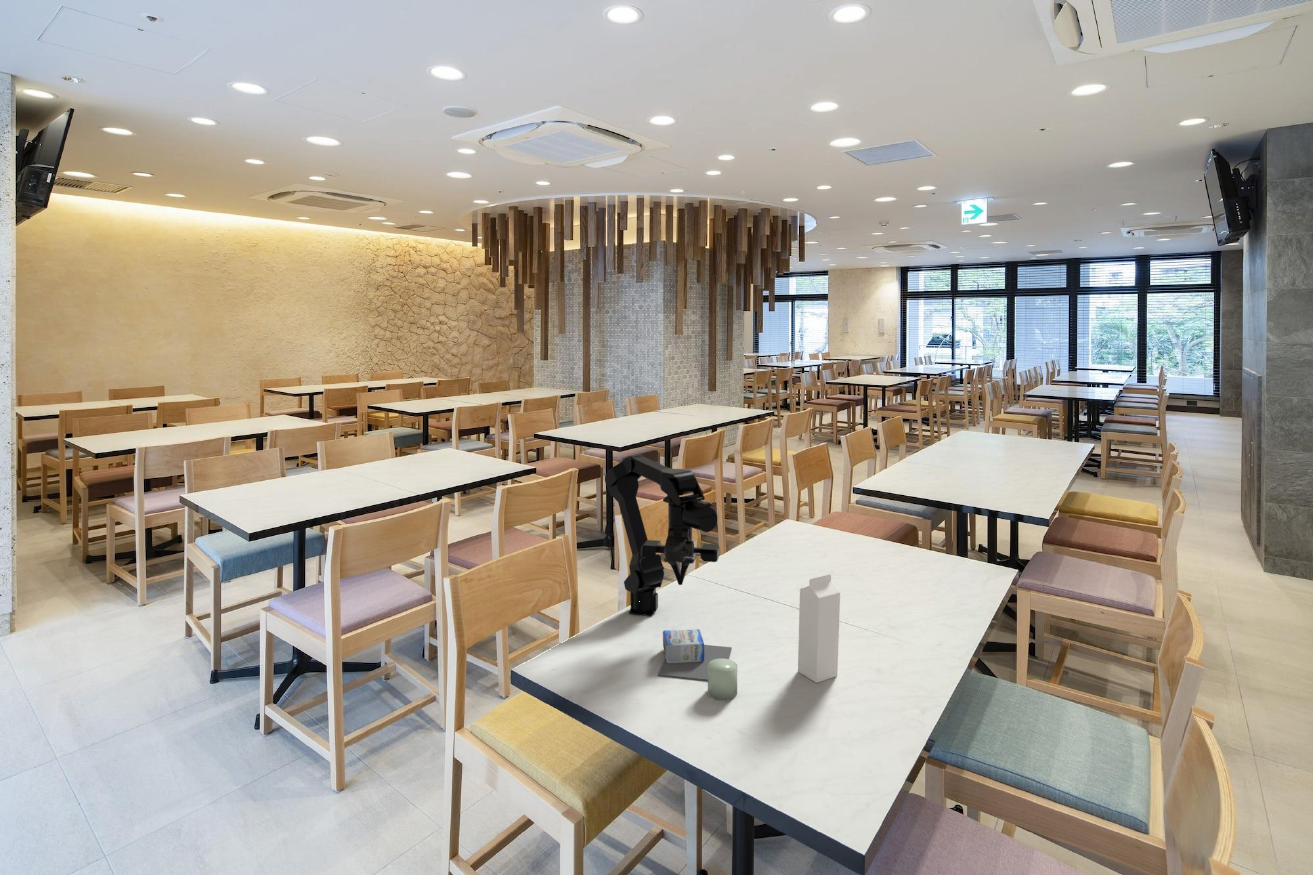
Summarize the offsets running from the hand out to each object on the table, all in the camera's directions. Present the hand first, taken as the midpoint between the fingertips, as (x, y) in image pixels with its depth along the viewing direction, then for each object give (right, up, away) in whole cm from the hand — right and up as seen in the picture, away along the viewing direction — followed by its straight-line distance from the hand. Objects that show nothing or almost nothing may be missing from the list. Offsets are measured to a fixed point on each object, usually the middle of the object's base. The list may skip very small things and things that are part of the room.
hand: (680, 584), depth 169 cm
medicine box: (-4, -12, -12) cm, 17 cm away
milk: (+29, -15, -20) cm, 38 cm away
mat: (+3, -14, -14) cm, 20 cm away
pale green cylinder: (+8, -16, -27) cm, 33 cm away
